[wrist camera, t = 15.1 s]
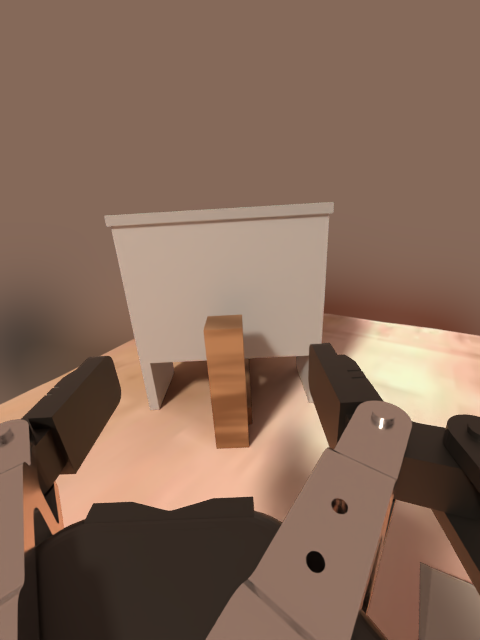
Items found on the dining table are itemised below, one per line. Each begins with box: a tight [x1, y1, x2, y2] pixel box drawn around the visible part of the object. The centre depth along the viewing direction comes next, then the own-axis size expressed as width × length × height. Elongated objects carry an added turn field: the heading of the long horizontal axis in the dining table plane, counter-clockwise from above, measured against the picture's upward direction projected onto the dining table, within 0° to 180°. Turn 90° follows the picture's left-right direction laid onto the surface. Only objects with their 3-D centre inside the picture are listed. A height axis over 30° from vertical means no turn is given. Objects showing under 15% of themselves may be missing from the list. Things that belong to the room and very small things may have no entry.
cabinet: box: [104, 202, 334, 410], centre depth 36 cm, size 10×23×24 cm, turn 90°
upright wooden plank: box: [203, 315, 252, 449], centre depth 36 cm, size 18×4×14 cm, turn 0°
